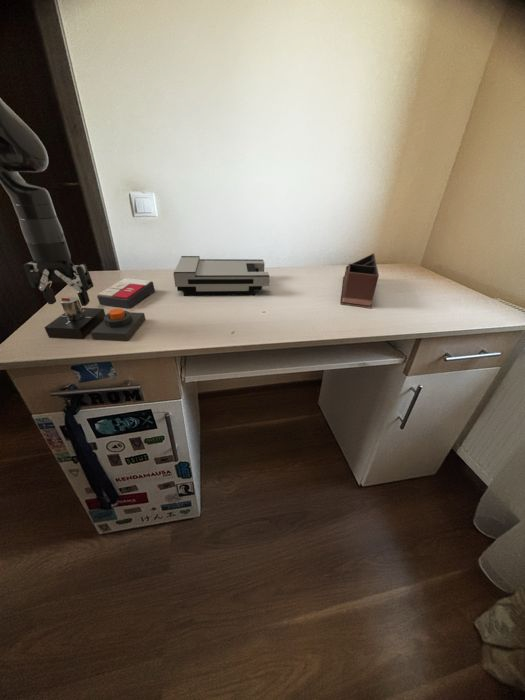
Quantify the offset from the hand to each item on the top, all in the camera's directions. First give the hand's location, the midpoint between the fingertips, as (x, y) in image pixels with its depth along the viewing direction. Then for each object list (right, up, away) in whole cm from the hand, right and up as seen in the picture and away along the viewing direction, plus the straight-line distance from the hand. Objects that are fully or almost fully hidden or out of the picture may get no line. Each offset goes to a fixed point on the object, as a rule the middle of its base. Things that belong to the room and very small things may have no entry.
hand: (69, 304), depth 73 cm
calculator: (+5, +5, +22) cm, 23 cm away
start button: (+12, -3, +2) cm, 12 cm away
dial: (0, -3, +2) cm, 4 cm away
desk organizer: (+86, +10, +34) cm, 93 cm away
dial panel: (0, -6, +4) cm, 7 cm away
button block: (+12, -6, +4) cm, 14 cm away
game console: (+36, +12, +34) cm, 51 cm away
